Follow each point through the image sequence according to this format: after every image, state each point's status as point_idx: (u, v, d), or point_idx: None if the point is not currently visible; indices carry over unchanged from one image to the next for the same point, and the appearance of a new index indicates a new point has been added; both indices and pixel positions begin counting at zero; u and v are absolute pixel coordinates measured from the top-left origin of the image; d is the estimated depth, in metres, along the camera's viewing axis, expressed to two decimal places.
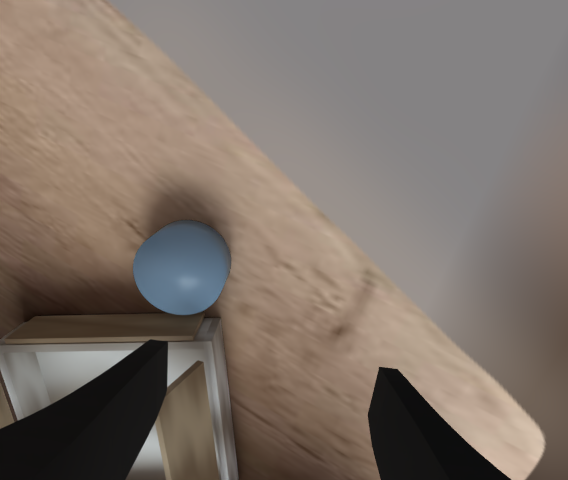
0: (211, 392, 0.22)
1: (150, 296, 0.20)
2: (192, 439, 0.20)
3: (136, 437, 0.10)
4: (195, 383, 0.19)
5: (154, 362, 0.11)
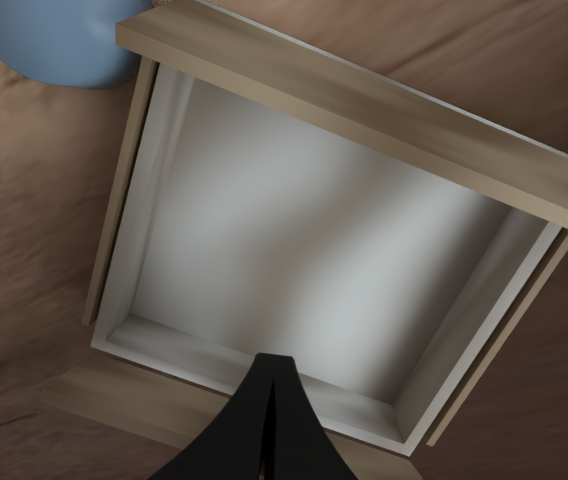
0: None
1: (74, 70, 0.12)
2: (310, 71, 0.09)
3: (262, 452, 0.10)
4: (201, 14, 0.09)
5: None
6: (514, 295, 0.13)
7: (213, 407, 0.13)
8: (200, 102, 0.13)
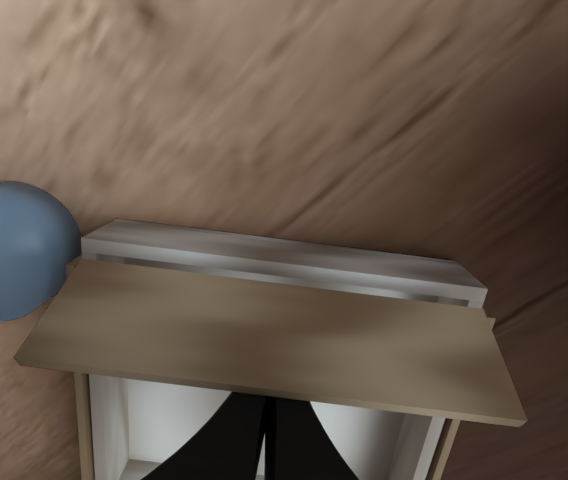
0: (184, 261, 0.12)
1: (28, 302, 0.14)
2: (188, 316, 0.10)
3: (259, 452, 0.10)
4: (94, 281, 0.11)
5: None
6: None
7: None
8: None
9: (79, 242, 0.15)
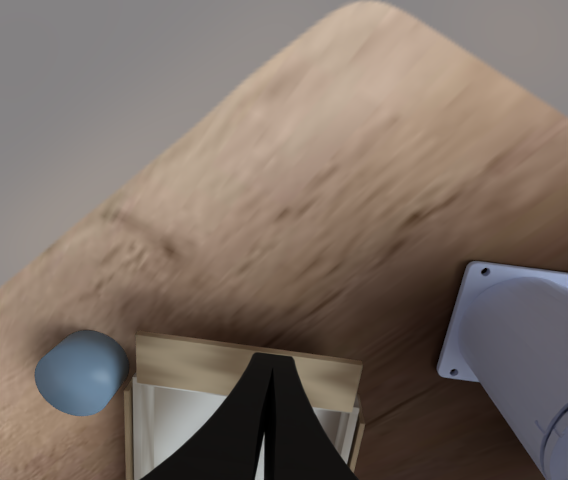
0: None
1: (102, 402, 0.23)
2: None
3: (258, 452, 0.10)
4: None
5: (271, 377, 0.11)
6: None
7: None
8: (160, 390, 0.25)
9: (123, 357, 0.24)
